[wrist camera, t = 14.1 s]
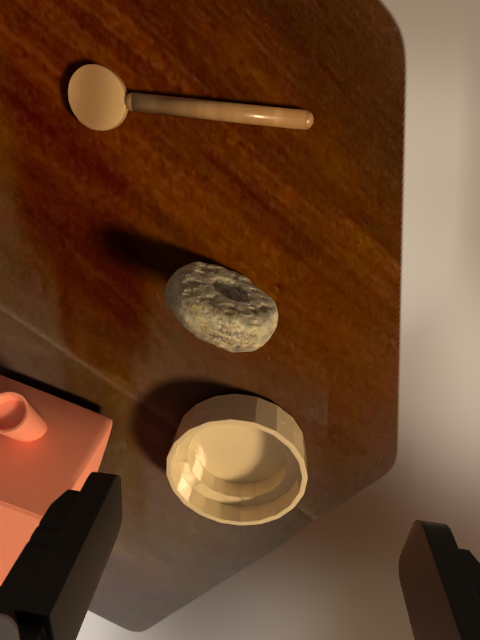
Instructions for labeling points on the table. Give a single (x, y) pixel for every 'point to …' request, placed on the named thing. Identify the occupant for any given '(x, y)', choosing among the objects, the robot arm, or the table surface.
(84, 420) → the teapot
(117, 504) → the robot arm
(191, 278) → the stone ring
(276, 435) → the bowl
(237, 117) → the spoon
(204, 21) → the table surface
